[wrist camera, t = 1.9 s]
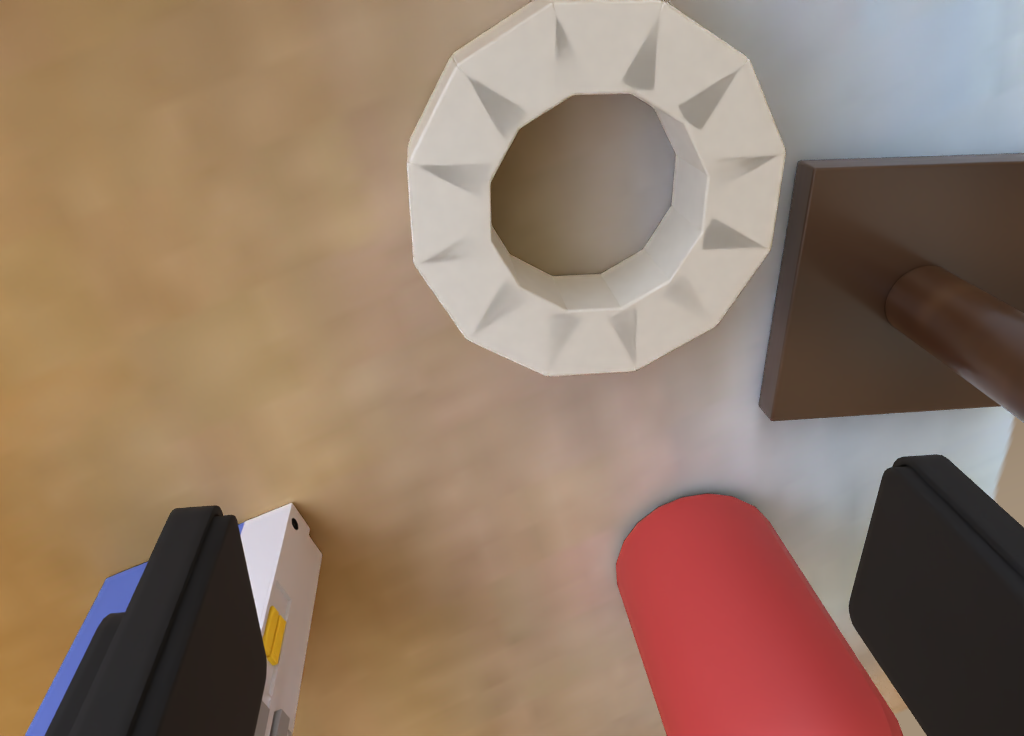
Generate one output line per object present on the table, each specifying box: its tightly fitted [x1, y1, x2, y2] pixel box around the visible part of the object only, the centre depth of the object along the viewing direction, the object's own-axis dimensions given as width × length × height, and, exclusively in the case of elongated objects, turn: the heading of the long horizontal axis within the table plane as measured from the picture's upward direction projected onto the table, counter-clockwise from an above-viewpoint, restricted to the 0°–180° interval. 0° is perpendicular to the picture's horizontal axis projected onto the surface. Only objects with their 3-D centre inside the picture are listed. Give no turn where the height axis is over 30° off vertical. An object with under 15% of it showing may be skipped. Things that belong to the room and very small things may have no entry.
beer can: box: [616, 493, 903, 736], centre depth 26 cm, size 7×7×12 cm
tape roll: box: [407, 0, 786, 377], centre depth 22 cm, size 10×10×3 cm
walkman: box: [25, 503, 322, 736], centre depth 24 cm, size 8×3×12 cm, turn 112°
